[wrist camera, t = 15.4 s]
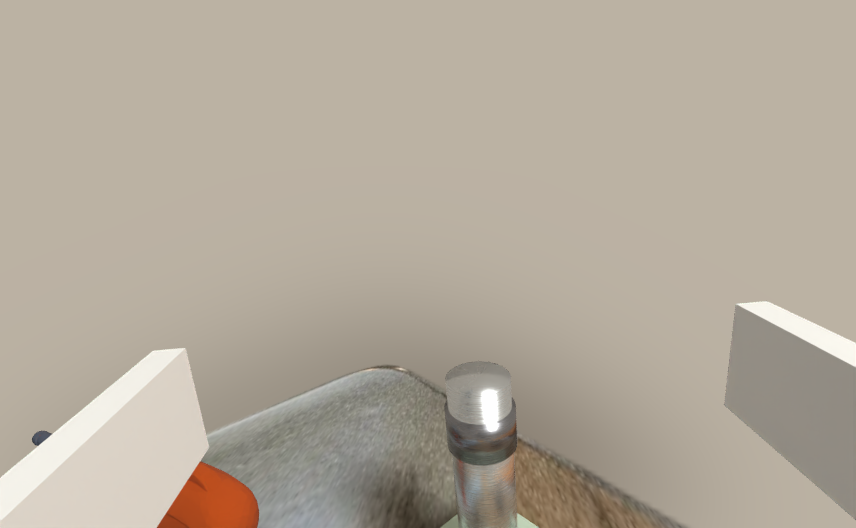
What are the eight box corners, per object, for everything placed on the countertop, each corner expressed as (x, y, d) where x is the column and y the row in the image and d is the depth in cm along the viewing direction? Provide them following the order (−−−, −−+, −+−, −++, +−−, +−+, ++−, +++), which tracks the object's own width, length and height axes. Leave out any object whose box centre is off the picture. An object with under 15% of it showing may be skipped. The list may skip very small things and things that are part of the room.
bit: (449, 597, 30) (427, 379, 26) (490, 559, 33) (476, 353, 29) (495, 643, 27) (479, 405, 23) (536, 597, 30) (529, 374, 26)
